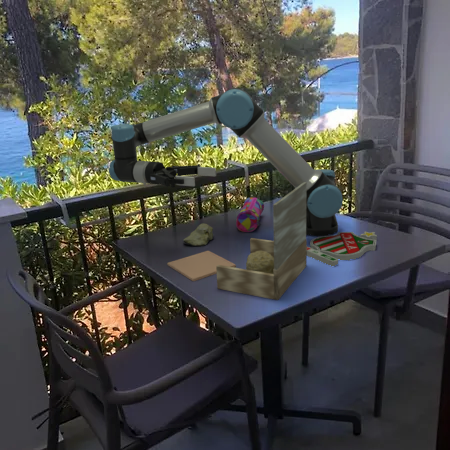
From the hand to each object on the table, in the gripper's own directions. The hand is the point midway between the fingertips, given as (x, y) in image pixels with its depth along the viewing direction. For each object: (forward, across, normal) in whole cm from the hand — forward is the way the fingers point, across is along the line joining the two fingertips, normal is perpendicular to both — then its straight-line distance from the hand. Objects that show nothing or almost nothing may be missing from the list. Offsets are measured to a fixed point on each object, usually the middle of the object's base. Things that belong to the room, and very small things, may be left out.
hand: (205, 176), depth 149 cm
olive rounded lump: (+21, +6, -28) cm, 36 cm away
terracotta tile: (0, +7, -28) cm, 29 cm away
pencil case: (-2, -37, -28) cm, 47 cm away
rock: (-12, -12, -28) cm, 33 cm away
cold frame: (+21, +6, -28) cm, 36 cm away
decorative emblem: (+39, -26, -29) cm, 54 cm away
